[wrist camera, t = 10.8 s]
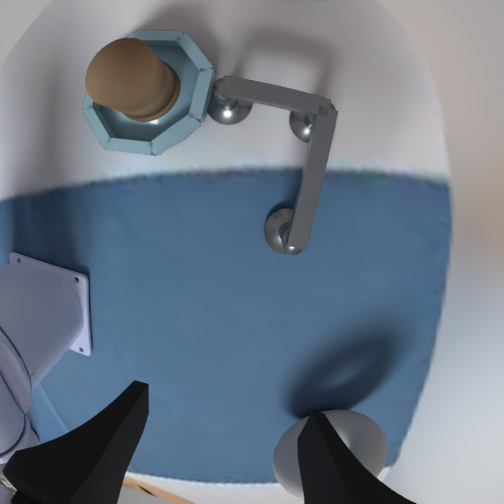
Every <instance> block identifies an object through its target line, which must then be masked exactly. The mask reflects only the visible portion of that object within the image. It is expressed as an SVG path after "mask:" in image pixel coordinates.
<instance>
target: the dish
mask: <svg viewBox="0 0 504 504" xmlns="http://www.w3.org/2000/svg"><path fill="white" fill-rule="evenodd" d="M126 38H136V39H139V40H142V41H143V42H145V43H146V44H147V45H148V46H149V47H150V48H151V49H152V50H153V51H154V52H155V54H156V55H157V56H158V57H159V58H160V59H161V60H162V61H163V62H165V63H167V64H169V65H170V66H171V67H172V68H173V69H174V70H175V71H176V73H177V74H178V76H179V79H180V93H179V97H178V99H177V101H176V103H175V105H174V106H173V107H172V109H171V110H170V111H169V112H168V113H166V114H165V115H164V116H162V117H161V118H159V119H156V120H154V121H149V122H139V121H135V120H132V119H130V118H128V117H126V116H125V115H124V114H123V113H122V112H119V111H117V110H114V109H111V108H108V107H106V106H103V105H100V104H98V103H96V102H95V101H93V100H92V99H91V98H90V96H89V95H88V92H87V91H86V94H85V98H84V102H83V107H82V109H83V110H84V111H83V112H82V113H83V115H84V116H85V118H86V120H87V122H88V123H89V125H90V127H91V129H92V130H93V132H94V134H95V136H96V137H97V139H98V141H99V142H100V144H101V146H102V147H103V148H106V149H105V150H113V151H122V152H130V153H138V154H145V155H153V156H157V155H161V154H162V153H164V152H165V151H166V150H168V149H169V148H171V147H173V146H175V145H177V144H178V143H180V142H182V141H183V140H184V139H186V138H187V137H188V136H189V135H190V134H191V133H192V132H193V131H194V130H196V129H197V128H199V127H200V126H202V124H201V122H204V121H205V116H206V113H207V108H208V105H209V102H210V98H211V93H212V87H213V84H214V80H215V77H216V74H215V70H214V68H213V66H212V64H211V63H210V62H209V60H208V59H207V58H206V57H205V55H204V54H203V53H202V51H201V50H200V49H199V48H198V46H197V45H196V44H195V42H194V41H193V40H192V39H191V37H190V36H189V35H188V34H187V33H184V31H169V30H141V31H137V34H136V33H135V32H133V33H132V34H131V35H129V36H128V37H126Z"/></svg>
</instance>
